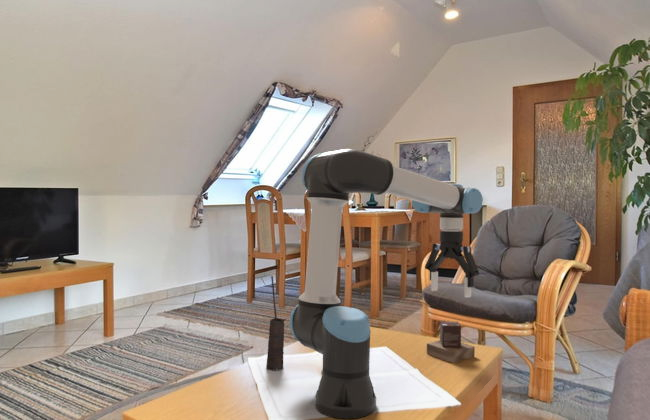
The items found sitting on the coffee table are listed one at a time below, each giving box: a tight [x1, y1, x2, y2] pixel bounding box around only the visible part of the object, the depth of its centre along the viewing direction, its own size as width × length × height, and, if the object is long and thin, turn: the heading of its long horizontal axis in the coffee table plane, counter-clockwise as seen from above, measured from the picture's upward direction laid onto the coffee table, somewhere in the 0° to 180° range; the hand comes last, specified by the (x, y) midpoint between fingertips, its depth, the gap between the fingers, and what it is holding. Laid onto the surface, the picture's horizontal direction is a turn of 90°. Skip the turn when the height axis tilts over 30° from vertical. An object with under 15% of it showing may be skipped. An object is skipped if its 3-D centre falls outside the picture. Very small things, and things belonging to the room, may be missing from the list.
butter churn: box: [265, 275, 287, 371], centre depth 138 cm, size 9×10×28 cm
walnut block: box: [426, 340, 476, 364], centre depth 152 cm, size 11×11×4 cm
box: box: [439, 320, 462, 348], centre depth 152 cm, size 6×6×7 cm
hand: (450, 293), depth 152 cm, fingers open, 13 cm apart
